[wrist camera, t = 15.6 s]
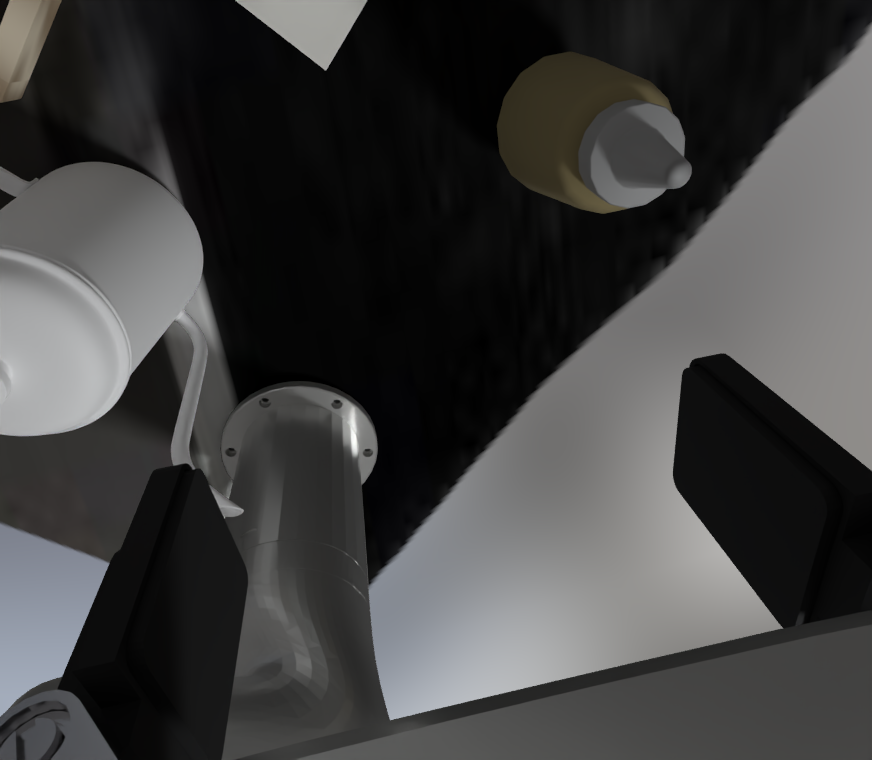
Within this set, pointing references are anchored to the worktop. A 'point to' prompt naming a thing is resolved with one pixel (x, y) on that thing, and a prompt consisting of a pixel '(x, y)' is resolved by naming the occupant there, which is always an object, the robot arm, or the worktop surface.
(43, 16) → the wooden frame
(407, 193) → the worktop surface
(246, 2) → the tile
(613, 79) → the squeeze bottle
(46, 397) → the coffeepot
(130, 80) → the worktop surface
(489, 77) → the worktop surface
